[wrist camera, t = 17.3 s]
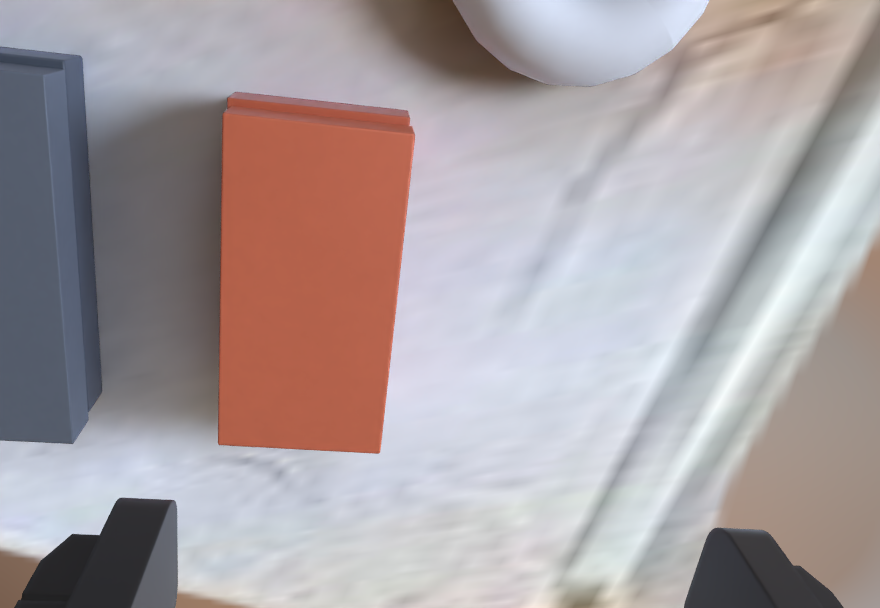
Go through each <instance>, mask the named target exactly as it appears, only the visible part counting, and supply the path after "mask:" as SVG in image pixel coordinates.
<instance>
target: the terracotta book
mask: <svg viewBox="0 0 880 608" xmlns="http://www.w3.org/2000/svg"><path fill="white" fill-rule="evenodd" d="M414 141H415V134H414V131H413V128H412V126H406V125H397V124H388V123H379V122H370V121H361V120H352V119H343V118H334V117H325V116H316V115H307V114H298V113H289V112H280V111H272V110H263V109H254V108H245V107H236V106H231V107H230V108H229V109H227V110H226V111H225V112H224V113H223V114H222V176H221V251H220V326H219V401H218V444H219V445H230V446H248V447H267V448H285V449H304V450H322V451H341V452H359V453H377V454H378V453H380V449H381V440H382V431H383V422H384V413H385V404H386V395H387V386H388V377H389V368H390V359H391V350H392V340H393V331H394V322H395V313H396V304H397V295H398V286H399V277H400V268H401V259H402V250H403V241H404V232H405V223H406V214H407V205H408V196H409V187H410V178H411V169H412V159H413V150H414Z"/></svg>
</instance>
